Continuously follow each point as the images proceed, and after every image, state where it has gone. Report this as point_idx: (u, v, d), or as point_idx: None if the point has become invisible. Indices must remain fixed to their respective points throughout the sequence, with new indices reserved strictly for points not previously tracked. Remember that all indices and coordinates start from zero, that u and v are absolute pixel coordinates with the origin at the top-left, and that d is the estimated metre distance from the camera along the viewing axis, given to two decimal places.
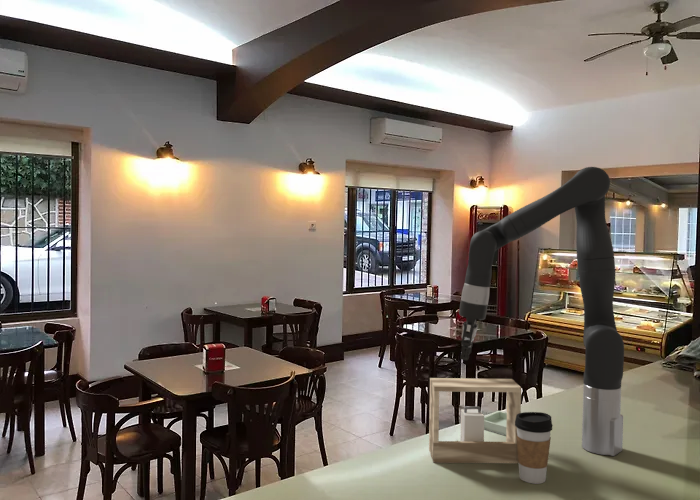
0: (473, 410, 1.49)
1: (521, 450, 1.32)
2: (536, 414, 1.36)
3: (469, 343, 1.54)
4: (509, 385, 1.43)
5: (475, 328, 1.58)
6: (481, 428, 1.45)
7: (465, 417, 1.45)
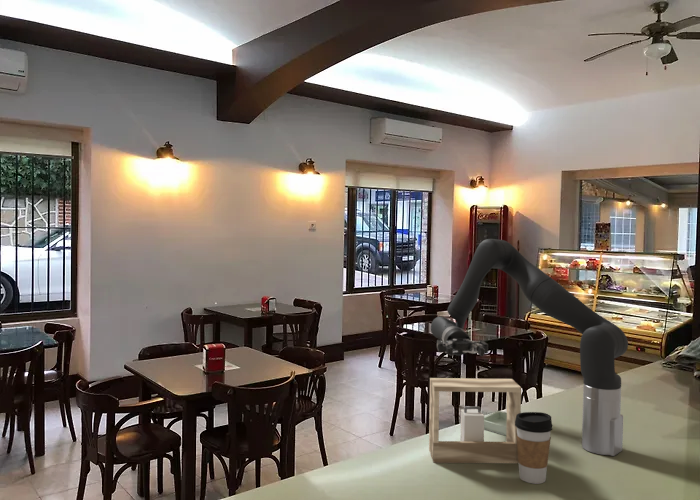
0: (473, 410, 1.49)
1: (521, 450, 1.32)
2: (536, 414, 1.36)
3: (438, 344, 1.63)
4: (509, 385, 1.43)
5: None
6: (481, 428, 1.45)
7: (465, 417, 1.45)
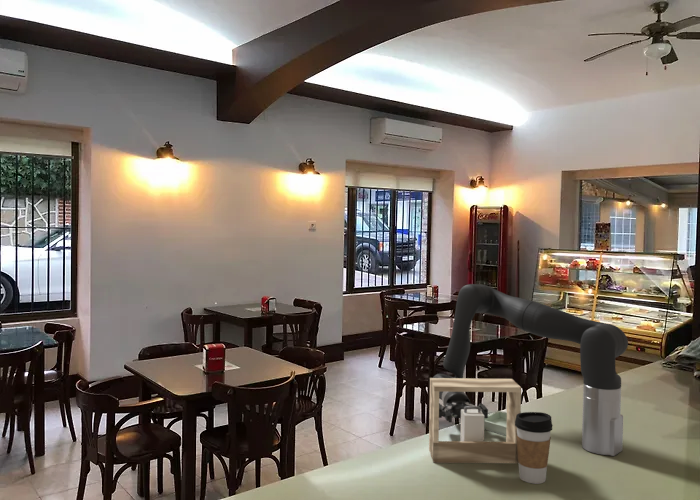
0: (473, 410, 1.49)
1: (521, 450, 1.32)
2: (537, 414, 1.36)
3: None
4: (509, 385, 1.43)
5: None
6: (481, 428, 1.45)
7: (465, 417, 1.45)
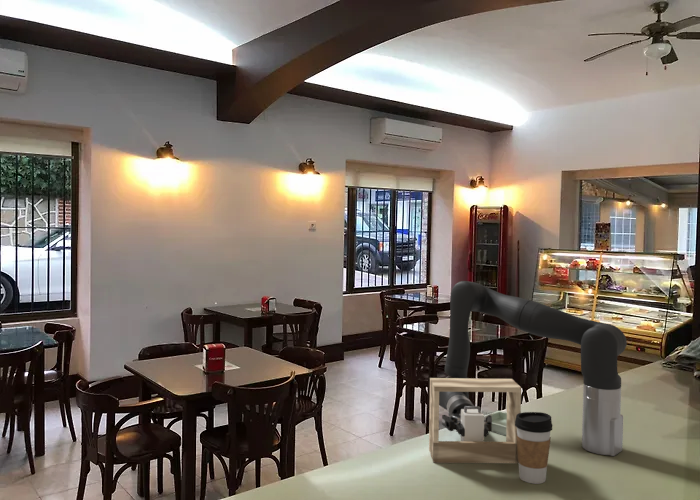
0: (473, 410, 1.49)
1: (521, 450, 1.32)
2: (536, 414, 1.36)
3: (448, 422, 1.50)
4: (509, 385, 1.43)
5: None
6: (481, 428, 1.45)
7: (465, 417, 1.45)
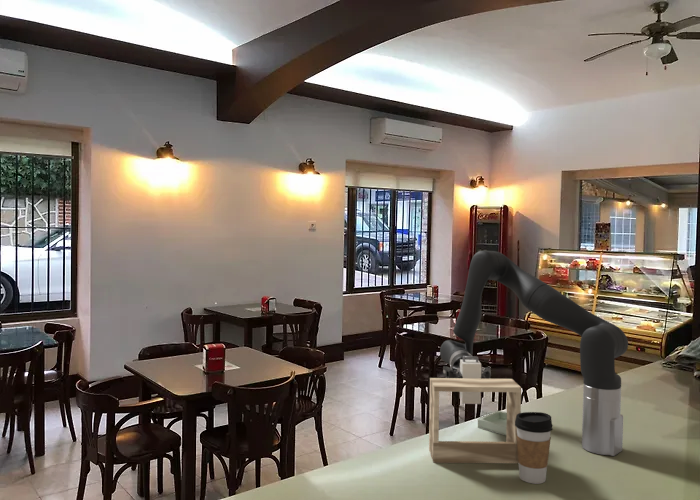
0: (471, 360, 1.58)
1: (521, 450, 1.32)
2: (537, 414, 1.36)
3: (448, 371, 1.60)
4: (509, 385, 1.43)
5: None
6: (478, 376, 1.54)
7: (463, 365, 1.54)
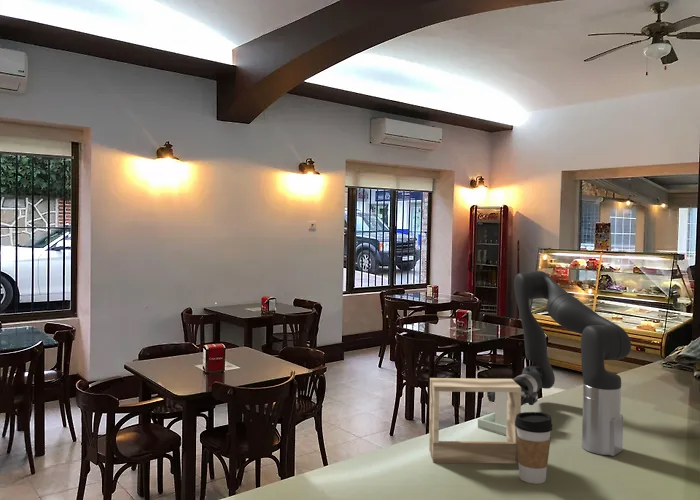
0: None
1: (521, 450, 1.32)
2: (536, 414, 1.36)
3: None
4: (509, 385, 1.43)
5: None
6: None
7: None
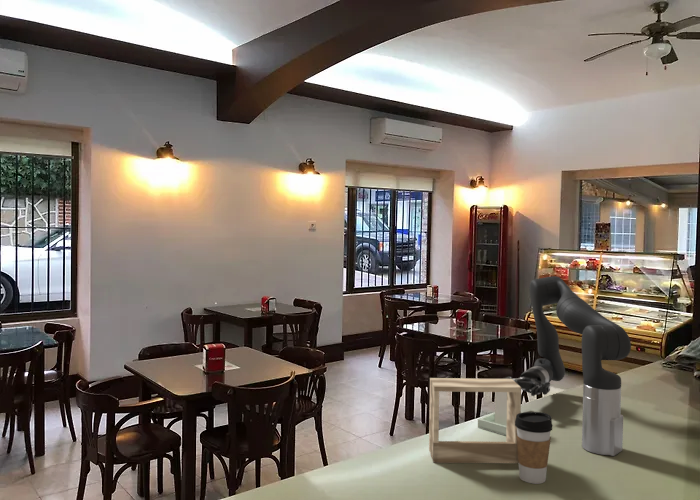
0: None
1: (521, 450, 1.32)
2: (536, 414, 1.36)
3: None
4: (509, 385, 1.43)
5: None
6: None
7: None
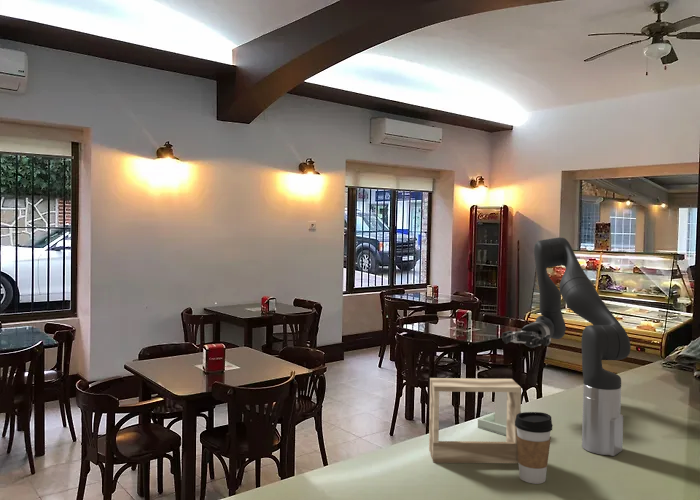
0: None
1: (521, 450, 1.32)
2: (537, 414, 1.36)
3: None
4: (509, 385, 1.43)
5: None
6: None
7: None
